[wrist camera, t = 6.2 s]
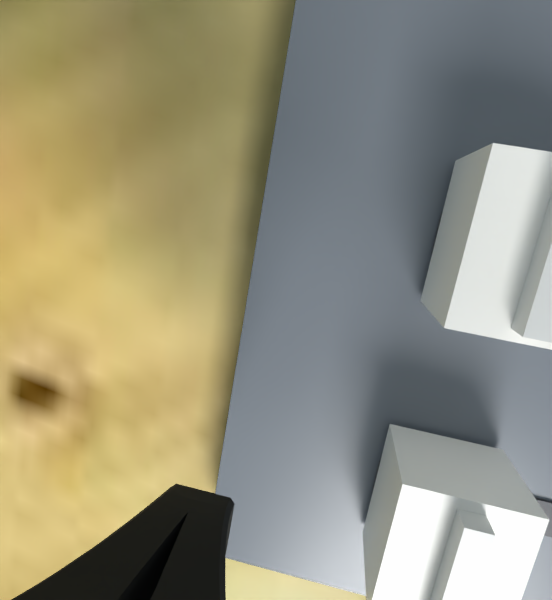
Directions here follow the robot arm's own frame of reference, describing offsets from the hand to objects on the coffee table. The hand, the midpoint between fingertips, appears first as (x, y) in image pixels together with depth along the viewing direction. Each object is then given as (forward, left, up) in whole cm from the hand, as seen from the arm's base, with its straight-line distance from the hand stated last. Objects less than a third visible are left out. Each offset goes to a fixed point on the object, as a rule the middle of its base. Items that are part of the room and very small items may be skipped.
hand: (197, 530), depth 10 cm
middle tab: (-6, -7, -4) cm, 10 cm away
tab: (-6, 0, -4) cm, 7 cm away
